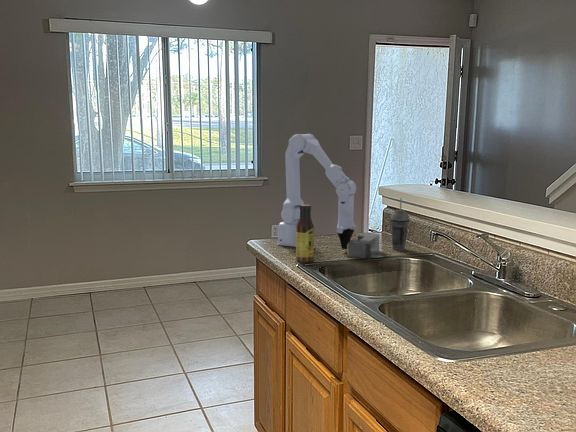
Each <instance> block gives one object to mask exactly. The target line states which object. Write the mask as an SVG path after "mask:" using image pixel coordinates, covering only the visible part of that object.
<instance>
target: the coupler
mask: <svg viewBox="0 0 576 432" xmlns="http://www.w3.org/2000/svg"><path fill="white" fill-rule="evenodd" d="M380 236H381V235H380V234H377V233H368V234H367V235H359V234H358V236H357V240H358V241H359V242H355V241H351V240H350V241H349V245H348V255H347V256H348V257H350V258H359V259H360V258H361V259H367V258H368V259H369V260H370V259H371V258H373V256H375V255H376V254H377V253H379V252H380V238H381V237H380ZM368 259H367V260H368Z"/></svg>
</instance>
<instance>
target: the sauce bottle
mask: <svg viewBox="0 0 576 432" xmlns="http://www.w3.org/2000/svg"><path fill="white" fill-rule="evenodd" d="M311 209H312V205H311V204H304V205H300V219H299V221H298V222H297V226H296V227H297V231H296V247H295V259H296V261H297V262H298V263H309V262H312V261H314V254H315V253H314V250H315V248H314V247H315V246H314V245H315V242H314V241H315V227H314V224H313V221H312V216H311V215H312V214H311V212H312V211H311Z"/></svg>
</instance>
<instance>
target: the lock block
mask: <svg viewBox="0 0 576 432" xmlns="http://www.w3.org/2000/svg"><path fill="white" fill-rule="evenodd" d="M350 241H355V242H359V241H358V239H357V240H356V239H350ZM348 245H349V242H348V244H347V249H346V255H347V256H348Z"/></svg>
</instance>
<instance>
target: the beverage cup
mask: <svg viewBox="0 0 576 432" xmlns="http://www.w3.org/2000/svg"><path fill="white" fill-rule="evenodd" d="M399 200H400V201H399V209H396V210H394V211H393V212H392V214H391V216H390V219H389V220H390V225H391V228H390V229H391V243H392V244H391V245H392V250H393V251H398V252H401V251H405V248H406V241H407V234H408V228H409V227H408V226H409V223H410V215H409V214H408V212H407V211H406V210H404V209H402V200H403V199H402V198H400V199H399Z"/></svg>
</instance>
